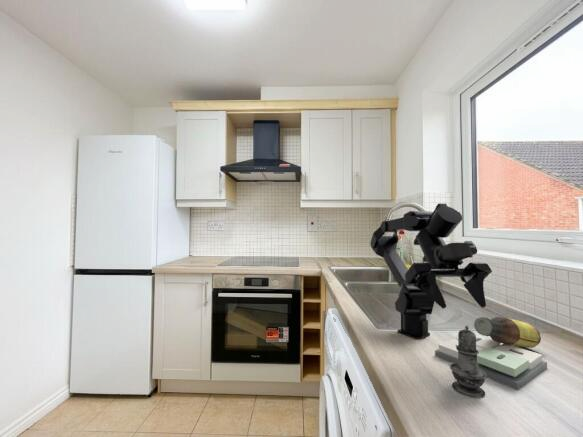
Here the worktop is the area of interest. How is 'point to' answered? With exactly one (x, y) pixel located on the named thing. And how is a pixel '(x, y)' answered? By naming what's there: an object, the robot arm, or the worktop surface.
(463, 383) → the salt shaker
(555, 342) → the worktop surface
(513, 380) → the keypad board
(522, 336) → the sauce bottle
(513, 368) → the green key
